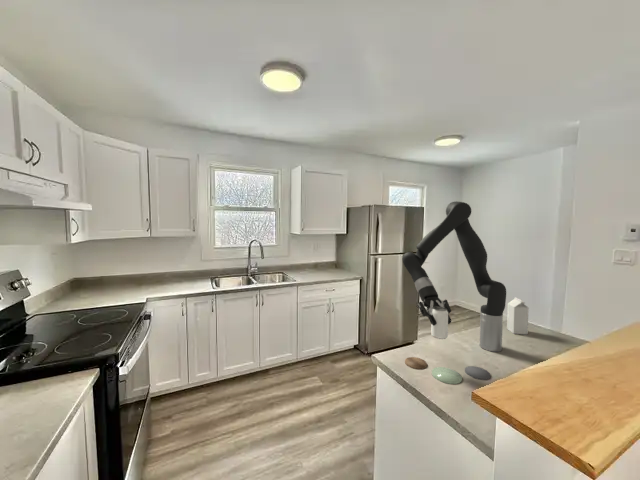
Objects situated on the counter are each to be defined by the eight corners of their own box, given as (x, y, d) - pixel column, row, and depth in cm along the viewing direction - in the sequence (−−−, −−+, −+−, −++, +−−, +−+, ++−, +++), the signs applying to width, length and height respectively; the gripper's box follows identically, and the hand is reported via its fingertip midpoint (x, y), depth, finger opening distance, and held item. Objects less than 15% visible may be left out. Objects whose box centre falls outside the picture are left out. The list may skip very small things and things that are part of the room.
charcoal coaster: (471, 366, 116) (471, 363, 116) (494, 375, 109) (494, 373, 109) (460, 372, 111) (460, 370, 111) (483, 383, 104) (483, 380, 104)
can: (449, 340, 111) (450, 311, 110) (432, 338, 113) (433, 310, 112) (445, 333, 117) (446, 306, 117) (429, 332, 119) (430, 305, 118)
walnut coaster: (413, 357, 124) (413, 355, 124) (431, 365, 117) (431, 363, 117) (400, 363, 119) (400, 360, 119) (417, 372, 112) (417, 369, 112)
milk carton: (513, 334, 149) (514, 300, 148) (506, 329, 156) (507, 296, 155) (527, 334, 148) (529, 300, 147) (520, 329, 155) (521, 297, 154)
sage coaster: (443, 366, 116) (443, 364, 116) (467, 379, 106) (468, 377, 106) (425, 373, 110) (425, 371, 110) (450, 387, 101) (450, 385, 101)
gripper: (415, 285, 119) (431, 321, 109) (443, 284, 123) (462, 318, 112) (408, 294, 125) (423, 329, 114) (435, 292, 128) (452, 326, 117)
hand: (442, 323), depth 113 cm, fingers closed on can, 6 cm apart
